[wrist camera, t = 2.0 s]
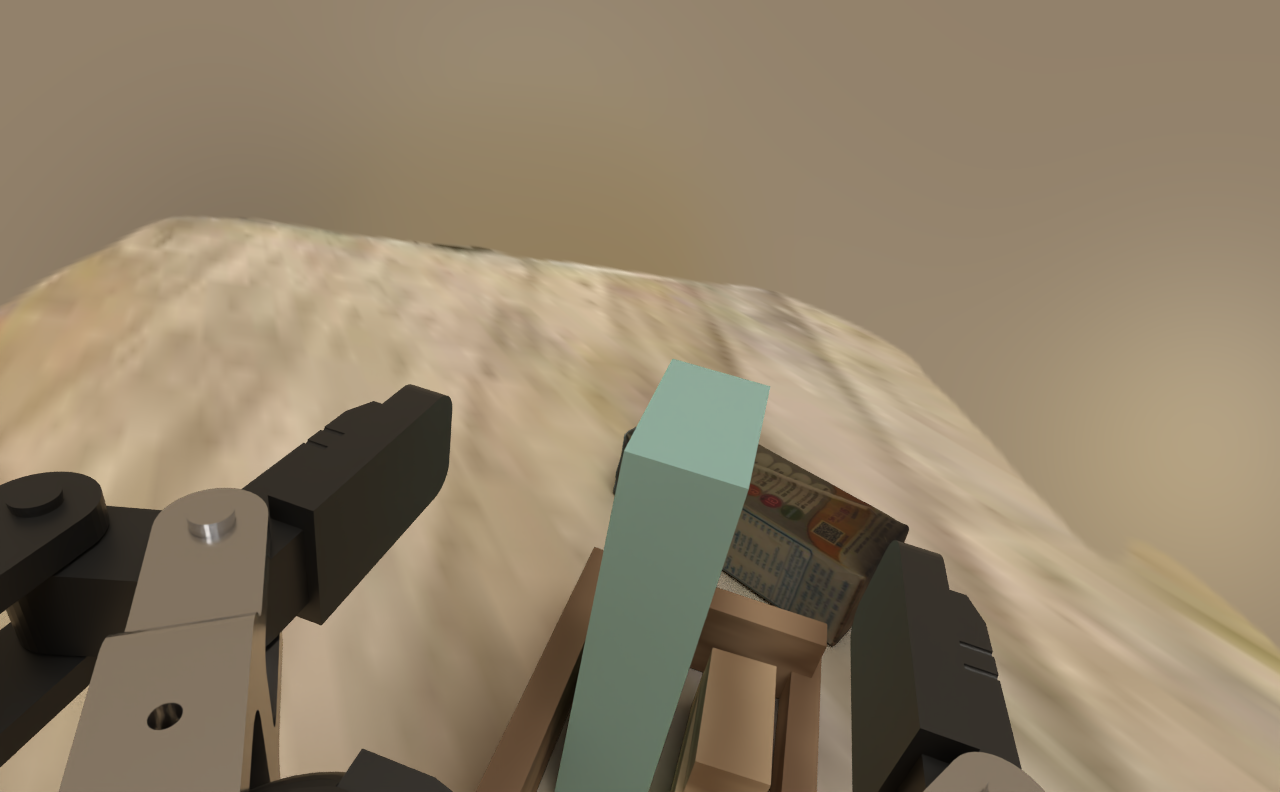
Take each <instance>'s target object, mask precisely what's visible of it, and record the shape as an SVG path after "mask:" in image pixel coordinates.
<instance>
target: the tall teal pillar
mask: <svg viewBox="0 0 1280 792" xmlns="http://www.w3.org/2000/svg"><path fill="white" fill-rule="evenodd" d="M769 390H770V386H767V385H763V384H760V383H756V382H753V381H749V380H746V379H742V378H739V377H735V376H732V375H728V374H725V373H721V372H718V371H714V370H711V369H707V368H704V367H700V366H697V365H693V364H689V363H686V362H682V361H679V360H675V359H672V361H671V363H670V364H669V366H668V368H667V370H666V372H665V374H664V376H663V378H662V380H661V382H660V383H659V385H658V387H657V389H656V391H655V393H654V395H653V397H652V399H651V401H650V402H649V404H648V406H647V408H646V410H645V412H644V414H643V416H642V418H641V420H640V421H639V423H638V425H637V427H636V429H635V431H634V433H633V435H632V437H631V439H630V440H629V442H628V444H627V446H626V448H625V450H624V453H623V458H622V463H621V468H620V473H619V478H618V483H617V488H616V493H615V498H614V503H613V507H612V512H611V517H610V522H609V527H608V532H607V537H606V542H605V547H604V552H603V557H602V562H601V566H600V571H599V576H598V581H597V586H596V591H595V596H594V601H593V606H592V611H591V616H590V620H589V625H588V630H587V635H586V640H585V645H584V650H583V655H582V660H581V665H580V670H579V674H578V679H577V684H576V689H575V694H574V699H573V704H572V709H571V714H570V719H569V724H568V729H567V733H566V738H565V743H564V748H563V753H562V758H561V763H560V768H559V773H558V778H557V783H556V787H555V792H648V791H649V788H650V785H651V782H652V779H653V776H654V773H655V770H656V767H657V764H658V761H659V758H660V755H661V752H662V749H663V746H664V743H665V740H666V737H667V734H668V731H669V728H670V725H671V722H672V719H673V716H674V713H675V710H676V707H677V704H678V701H679V698H680V695H681V692H682V689H683V686H684V683H685V680H686V677H687V674H688V671H689V668H690V665H691V662H692V659H693V656H694V653H695V650H696V647H697V643H698V640H699V637H700V634H701V631H702V628H703V625H704V622H705V619H706V616H707V613H708V610H709V607H710V604H711V601H712V598H713V595H714V592H715V589H716V586H717V583H718V580H719V577H720V574H721V571H722V568H723V565H724V562H725V559H726V556H727V553H728V550H729V547H730V544H731V541H732V538H733V535H734V532H735V529H736V526H737V523H738V520H739V517H740V514H741V511H742V508H743V505H744V502H745V499H746V496H747V493H748V490H749V485H750V481H751V476H752V471H753V466H754V461H755V457H756V452H757V447H758V442H759V438H760V433H761V428H762V423H763V419H764V414H765V409H766V404H767V399H768V395H769Z"/></svg>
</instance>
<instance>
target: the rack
mask: <svg viewBox="0 0 1280 792" xmlns="http://www.w3.org/2000/svg"><path fill="white" fill-rule="evenodd" d="M603 552H604V550H602V549H599V548H596V547H594V549H593V551H592V553H591V555H590V557H589V559H588V561H587V563H586V566H585V568H584V570H583V572H582V574H581V576H580V578H579V580H578V582H577V584H576V586H575V588H574V590H573V592H572V594H571V596H570V598H569V601H568V603H567V605H566V607H565V609H564V611H563V613H562V615H561V617H560V619H559V621H558V623H557V625H556V627H555V629H554V631H553V633H552V636H551V638H550V640H549V642H548V644H547V646H546V648H545V650H544V652H543V654H542V656H541V658H540V660H539V662H538V664H537V666H536V668H535V671H534V673H533V675H532V677H531V679H530V681H529V683H528V685H527V687H526V689H525V691H524V693H523V695H522V697H521V699H520V701H519V703H518V706H517V708H516V710H515V712H514V714H513V716H512V718H511V720H510V722H509V724H508V726H507V728H506V730H505V732H504V734H503V736H502V738H501V741H500V743H499V745H498V747H497V749H496V751H495V753H494V755H493V757H492V759H491V761H490V763H489V765H488V767H487V769H486V771H485V773H484V776H483V778H482V780H481V782H480V784H479V786H478V788H477V790H476V792H536V791H537V789H538V786H539V784H540V782H541V779H542V777H543V774H544V772H545V769H546V767H547V764H548V762H549V759H550V757H551V754H552V752H553V750H554V747H555V745H556V742H557V740H558V737H559V735H560V732H561V730H562V727H563V725H564V722H565V720H566V717H567V715H568V713H569V710H570V708H571V705H572V703H573V699H574V694H575V689H576V684H577V679H578V674H579V670H580V665H581V660H582V655H583V650H584V645H585V640H586V635H587V630H588V625H589V620H590V616H591V611H592V606H593V601H594V596H595V591H596V586H597V581H598V576H599V571H600V566H601V562H602V557H603ZM826 647H827V624H826V623H823V622H820V621H817V620H814V619H811V618H808V617H805V616H802V615H799V614H796V613H793V612H790V611H787V610H784V609H781V608H778V607H775V606H772V605H768V604H765V603H762V602H759V601H756V600H753V599H750V598H747V597H744V596H741V595H738V594H735V593H732V592H729V591H726V590H723V589H720V588H717V587H716V589H715V592H714V595H713V598H712V601H711V604H710V607H709V610H708V613H707V616H706V619H705V622H704V625H703V628H702V631H701V634H700V637H699V640H698V643H697V647H696V650H695V653H694V656H693V659H692V662H691V665H690V668H692V669H695V670H698V671H701V672H704V671H705V668H706V665H707V662H708V659H709V657H710V654H711V651H712V648H716V649H720V650H723V651H726V652H730V653H733V654H736V655H740V656H743V657H746V658H750V659H753V660H756V661H760V662H763V663H766V664H770V665H773V666H776V687H775V697H776V698H778V699H779V705H778V716H777V726H776V736H775V746H774V756H773V767H772V777H771V787H770V792H817V765H818V738H819V711H820V684H821V657H822V655H823V653H824V651H825V649H826Z"/></svg>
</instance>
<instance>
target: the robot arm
mask: <svg viewBox="0 0 1280 792" xmlns="http://www.w3.org/2000/svg"><path fill="white" fill-rule="evenodd" d="M451 421H452V401H451V399H450V397H449V396H446V395H443V394H440V393H437V392H434V391H430V390H427V389H424V388H421V387H418V386H415V385H411V384H409V385H406V386H404V387H403V388H402V389H400V390H399V391H398V392H397V393H395V394H394V395H393V396H392V397H390V398H389V399H388V400H387V401H385V402H384V403H383V404H381V403H378V402H375V401H373V402H370V403H367V404H364V405H362V406H359V407H356V408H353V409H350V410H348V411H345V412H344V413H342V414H341V415H340V416H338V417H337V418H336V419H334V420H333V421H332V422H330V423H329V424H328V425H326V426H325V428H324V430H323V431H322V430H320V431H318V432H317V433H316V434H314V435H313V436H312V437H310V438H309V439H308V441H307V443H306V444H305V443H302V444H301V445H300V446H298V447H297V448H296V449H294V450H293V451H292V452H290V453H289V454H288V455H286V456H285V457H284V458H282V459H281V460H280V461H278V462H277V463H276V464H274V465H273V466H272V467H270V468H269V469H268V470H266V471H265V472H264V473H262V474H261V475H260V476H258V477H257V478H256V479H254V480H253V481H252V482H250V483H249V484H248V485H246V486H245V487H244V488H242V489H236V488H215V489H208V490H203V491H199V492H195V493H192V494H189V495H187V496H184V497H182V498H180V499H178V500H176V501H174V502H173V503H171V504H170V505H168V506H167V507H166V508H164V509H163V510H151V509H139V508H127V507H114V506H106V504H105V500H104V497H103V493H102V489H101V487H100V485H99V484H98V483H97V481H95V480H94V479H92V478H91V477H88V476H86V475H83V474H79V473H73V472H47V473H40V474H34V475H29V476H25V477H21V478H18V479H15V480H12V481H9V482H7V483H5V484H2V485H0V614H1V613H2V612H3V611H5V610H6V611H7V613H8V616H9V618H10V621H11V622H10V623H9V624H8V625H6V626H5V627H4V628H3V629H1V630H0V767H1V766H2V765H3V764H4V763H6V762H7V761H8V760H9V759H10V758H11V757H12V756H13V755H14V754H15V753H16V752H17V751H18V750H19V749H21V748H22V747H23V746H24V745H25V744H26V743H27V742H28V741H29V740H30V739H31V738H32V737H33V736H35V735H36V734H37V733H38V732H39V731H40V730H41V729H42V728H43V727H44V726H45V725H46V724H47V723H49V722H50V721H51V720H52V719H53V718H54V717H55V716H56V715H57V714H58V713H59V712H60V711H61V710H62V709H64V708H65V707H66V706H67V705H68V704H69V703H70V702H71V701H72V700H73V699H74V698H75V697H76V696H78V695H79V694H80V693H81V692H82V691H83V690H84V689H85V688H86V687H87V686H88V685H89V684H90V685H89V688H88V692H87V695H86V699H85V702H84V706H83V709H82V713H81V716H80V720H79V723H78V727H77V730H76V733H75V737H74V740H73V744H72V747H71V751H70V754H69V758H68V761H67V765H66V768H65V772H64V775H63V779H62V782H61V786H60V789H59V792H452V791H451V790H450V789H449V788H447V787H446V786H445V785H444V784H442V783H441V782H440V781H439V780H437V779H436V778H435V777H432V776H430V775H427V774H425V773H422V772H420V771H417V770H415V769H412V768H410V767H407V766H405V765H402V764H400V763H397V762H395V761H392V760H390V759H387V758H385V757H382V756H380V755H377V754H375V753H372V752H370V751H367V750H365V749H362V750H361V751H360V753H359V754H358V756H357V757H356V759H355V760H354V761H353V763H352V764H351V766H350V767H349V769H348V770H347V772H317V773H309V774H302V775H296V776H291V777H287V778H283V779H280V765H279V729H280V703H281V676H282V650H283V638H282V631H283V629H284V628H285V627H286V626H287V625H288V624H289V623H290V622H291V621H292V620H293V619H294V618H295V617H296V616H298V617H300V618H303V619H306V620H308V621H311V622H314V623H316V624H319V625H322V624H323V623H324V622H325V621H326V620H327V619H328V618H329V616H330V615H331V614H332V613H333V612H334V611H335V610H336V609H337V607H338V606H339V605H340V604H341V603H342V602H343V601H344V599H345V598H346V597H347V596H348V595H349V594H350V593H351V592H352V590H353V589H354V588H355V587H356V586H357V585H358V584H359V583H360V581H361V580H362V579H363V578H364V577H365V576H366V575H367V574H368V572H369V571H370V570H371V569H372V568H373V567H374V566H375V565H376V563H377V562H378V561H379V560H380V559H381V558H382V557H383V556H384V554H385V553H386V552H387V551H388V550H389V549H390V548H391V547H392V545H393V544H394V543H395V542H396V541H397V540H398V539H399V538H400V536H401V535H402V534H403V533H404V532H405V531H406V530H407V529H408V527H409V526H410V525H411V524H412V523H413V522H414V521H415V520H416V518H417V517H418V516H419V515H420V514H421V513H422V512H423V511H424V509H425V508H426V507H427V506H428V505H429V504H430V503H431V502H432V500H433V499H434V498H435V497H436V496H437V494H438V493H439V491H440V489H441V488H442V485H443V483H444V481H445V478H446V475H447V472H448V467H449V454H450V438H451ZM992 652H993V651H992V647H991V643H990V639H989V635H988V631H987V627H986V623H985V622H984V620H983V619H982V617H981V616H980V614H979V613H978V611H977V610H976V608H975V607H974V605H973V604H972V602H971V601H970V600H969V598H968V597H967V595H964V594H961V593H958V592H955V591H952V590H949V585H948V580H947V575H946V569H945V564H944V560H943V557H942V556H941V555H940V554H937V553H934V552H931V551H928V550H925V549H922V548H918V547H915V546H912V545H909V544H906V543H903V542H900V541H897V540H894V541H892V542H891V543H890V545H889V546H888V548H887V549H886V551H885V553H884V555H883V557H882V559H881V561H880V563H879V565H878V567H877V569H876V571H875V573H874V575H873V577H872V579H871V581H870V583H869V585H868V587H867V589H866V590H865V592H864V594H863V596H862V598H861V600H860V602H859V605H858V607H857V610H856V613H855V616H854V620H853V624H852V630H851V712H852V785H853V792H1045V791H1044V790H1043V789H1042V788H1041V787H1040V786H1039V785H1038V784H1037V783H1036V782H1035V781H1034V780H1033V779H1032V778H1031V777H1030V776H1029V775H1027V774H1026V773H1025V772H1024V771H1023V770H1022V769H1021V765H1020V761H1019V757H1018V753H1017V749H1016V745H1015V741H1014V737H1013V732H1012V728H1011V724H1010V720H1009V716H1008V712H1007V708H1006V704H1005V700H1004V696H1003V692H1002V688H1001V684H1000V681H999V680H997V677H998V671H997V667H996V663H995V659H994V657H992Z"/></svg>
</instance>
